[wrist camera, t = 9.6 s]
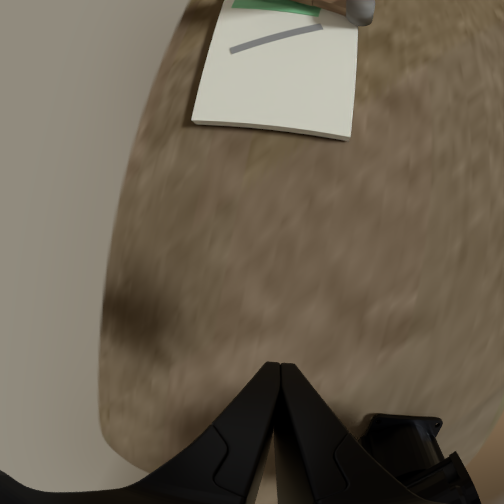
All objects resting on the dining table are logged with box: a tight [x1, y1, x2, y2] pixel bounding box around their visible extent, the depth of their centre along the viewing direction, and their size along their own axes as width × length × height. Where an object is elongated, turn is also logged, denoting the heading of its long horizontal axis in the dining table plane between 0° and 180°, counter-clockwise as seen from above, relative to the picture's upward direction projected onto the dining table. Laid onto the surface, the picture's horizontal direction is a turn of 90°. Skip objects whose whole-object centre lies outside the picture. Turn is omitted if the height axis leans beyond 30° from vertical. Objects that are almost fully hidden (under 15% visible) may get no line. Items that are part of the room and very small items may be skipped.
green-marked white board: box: [191, 0, 358, 141], centre depth 18 cm, size 11×16×1 cm
